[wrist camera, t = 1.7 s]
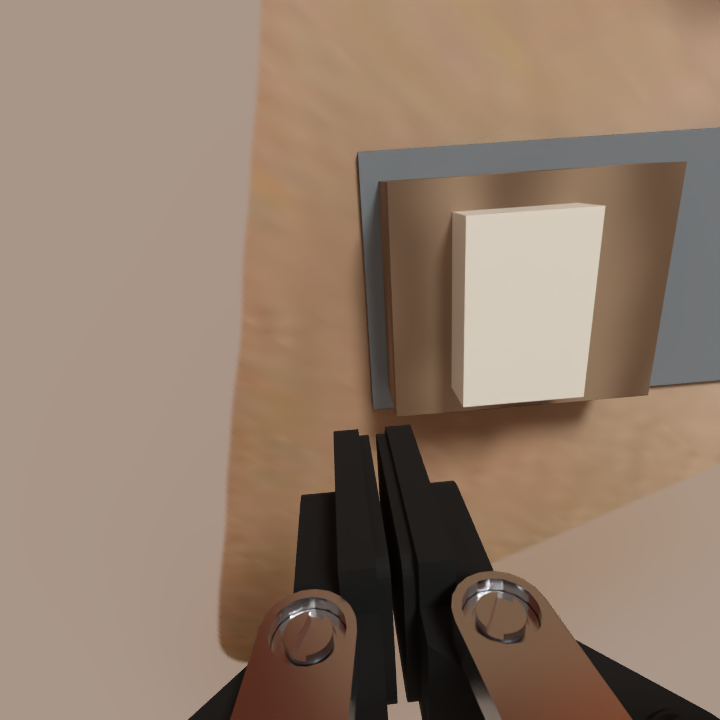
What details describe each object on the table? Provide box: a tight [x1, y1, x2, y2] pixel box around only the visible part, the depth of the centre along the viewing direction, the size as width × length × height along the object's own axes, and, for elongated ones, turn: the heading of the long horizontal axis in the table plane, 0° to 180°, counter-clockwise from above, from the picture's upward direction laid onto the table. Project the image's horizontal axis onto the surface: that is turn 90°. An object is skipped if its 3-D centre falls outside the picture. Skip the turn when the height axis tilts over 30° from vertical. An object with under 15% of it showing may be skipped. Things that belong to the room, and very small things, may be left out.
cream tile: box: [451, 203, 605, 407], centre depth 23 cm, size 6×9×2 cm, turn 4°
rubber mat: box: [358, 128, 720, 410], centre depth 28 cm, size 30×15×1 cm, turn 94°
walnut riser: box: [379, 161, 687, 417], centre depth 26 cm, size 14×12×4 cm
